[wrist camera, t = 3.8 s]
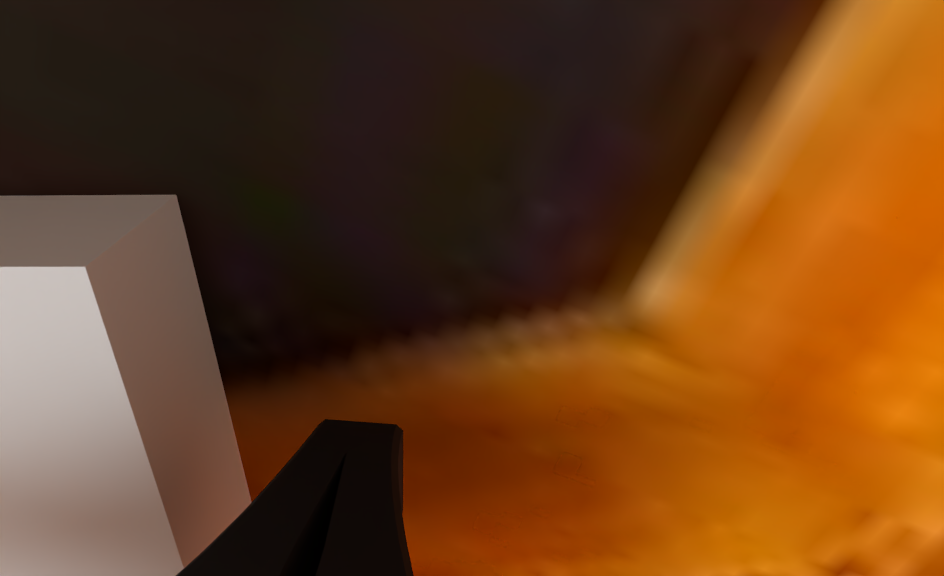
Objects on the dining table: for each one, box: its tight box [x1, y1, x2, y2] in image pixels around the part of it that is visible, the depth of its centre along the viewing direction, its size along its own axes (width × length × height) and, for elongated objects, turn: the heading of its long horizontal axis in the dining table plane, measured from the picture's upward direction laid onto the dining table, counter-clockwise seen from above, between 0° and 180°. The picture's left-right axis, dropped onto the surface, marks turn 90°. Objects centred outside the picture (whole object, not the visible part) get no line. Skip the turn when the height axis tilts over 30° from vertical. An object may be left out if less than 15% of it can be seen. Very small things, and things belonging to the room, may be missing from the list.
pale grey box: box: [0, 195, 252, 576], centre depth 12 cm, size 8×7×3 cm
